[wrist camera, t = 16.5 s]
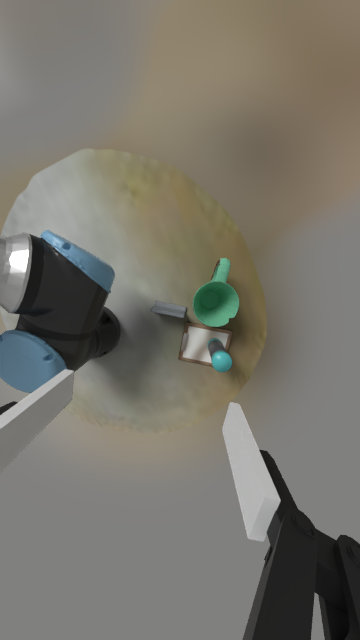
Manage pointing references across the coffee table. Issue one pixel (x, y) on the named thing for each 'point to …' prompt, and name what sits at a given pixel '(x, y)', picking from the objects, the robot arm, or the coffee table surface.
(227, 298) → the mug
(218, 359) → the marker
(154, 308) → the gray bookend
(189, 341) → the clipboard
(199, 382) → the coffee table surface
